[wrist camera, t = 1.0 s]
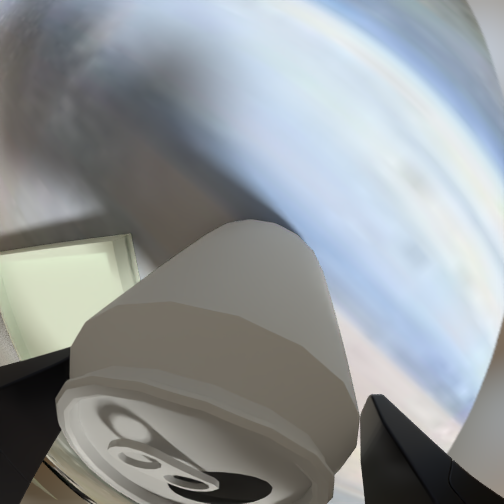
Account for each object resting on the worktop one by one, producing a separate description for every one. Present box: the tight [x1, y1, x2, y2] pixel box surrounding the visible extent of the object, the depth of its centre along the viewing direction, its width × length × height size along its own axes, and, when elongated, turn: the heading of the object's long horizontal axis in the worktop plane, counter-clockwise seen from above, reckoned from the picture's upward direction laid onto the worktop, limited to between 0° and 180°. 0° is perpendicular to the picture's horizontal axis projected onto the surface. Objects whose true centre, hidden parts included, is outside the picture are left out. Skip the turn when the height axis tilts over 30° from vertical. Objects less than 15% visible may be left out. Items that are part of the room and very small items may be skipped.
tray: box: [0, 233, 140, 361], centre depth 18 cm, size 17×17×2 cm
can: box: [55, 219, 360, 504], centre depth 10 cm, size 8×8×12 cm
